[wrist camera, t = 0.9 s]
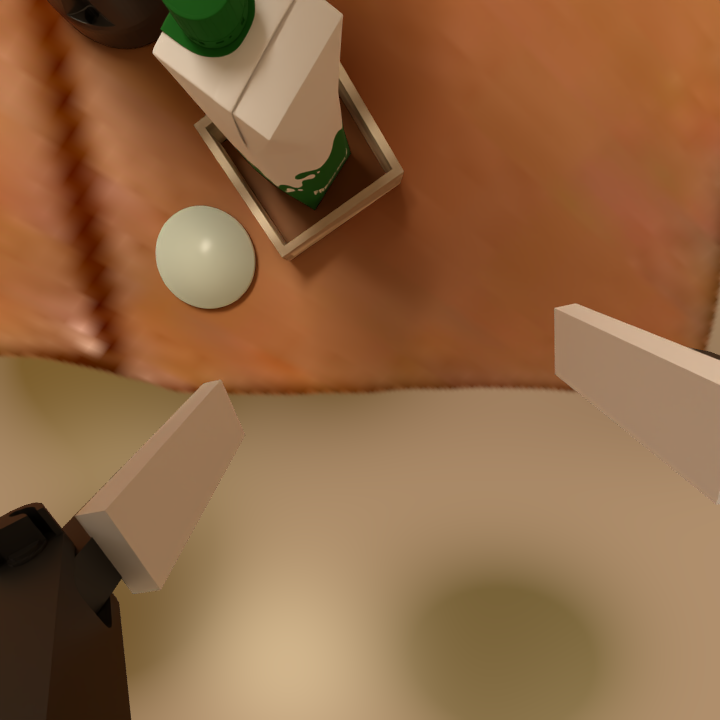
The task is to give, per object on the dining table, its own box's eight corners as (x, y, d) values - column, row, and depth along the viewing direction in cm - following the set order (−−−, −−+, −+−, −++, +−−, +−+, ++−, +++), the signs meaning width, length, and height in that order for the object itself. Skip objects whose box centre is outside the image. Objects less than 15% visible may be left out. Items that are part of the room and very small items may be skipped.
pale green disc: (139, 244, 38) (135, 243, 37) (215, 186, 36) (213, 184, 36) (199, 326, 39) (196, 327, 39) (275, 273, 38) (273, 273, 37)
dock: (210, 141, 36) (193, 125, 32) (323, 52, 34) (318, 25, 30) (289, 260, 38) (282, 257, 34) (400, 183, 36) (403, 171, 33)
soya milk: (292, 97, 35) (195, -162, 15) (364, 152, 36) (360, -26, 16) (248, 172, 36) (107, 26, 17) (318, 224, 37) (262, 142, 17)
